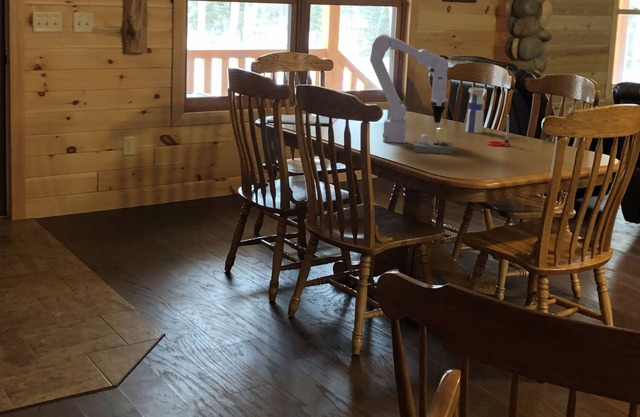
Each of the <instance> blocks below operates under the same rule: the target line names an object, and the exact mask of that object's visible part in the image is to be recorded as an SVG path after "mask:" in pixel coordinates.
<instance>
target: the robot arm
mask: <svg viewBox="0 0 640 417" xmlns="http://www.w3.org/2000/svg"><path fill="white" fill-rule="evenodd" d="M388 50H391V51H393V50H399V51H401V52H403V53H405V54H408V55H410V56H412V57H413V58H415V59H416V62H417V63H419V64H421V65H423V66H425V67H428V68H429V69H433V76H432V87H431V97H430V101H431V102H430V104H431V108H432V111H433V112H432V113H433V120H434V121H433V122H434V123H435V124H436V123H437V124H438V123H439V124H440V123H441V121H442V120H441V119H442V118H443V113H444V111H445V109H446V106H445V102H449V98H446V97H447V85H448V70H449V61H448V59H446V58H444V57H443V56H440V55H439V54H435V53H433V52H431V51H430V49H429V48H422V49H417V48H415V47H414V46H412V45H410V44H408V43H406V42H404V41H402V40H401V39H398V38H396V37H394V36H390V35H388V34H381V35H379V36H377V37H376V38H375V39H374V42H373V43H372V46H371V52H370V53H371V54H370V58H369V61H370V64H371V67H372V68H373V71H374V73H375V75H376V77H377V80H378V82H379V84H380V87H381V89H382V92H383V93H384V96H385V98H386V100H387V105H388V107H389V110H390V116H391V117H390V118H389V120H387V119H384V120H383V121H384V122H383V132H382V138H383V139H382V142H383V143H401V144H406V143H407V138H406V133H407V121H408V120H407V118H406V116H405V115H406V114H407V110H408V109H407V106H406V105H405V103H403V102H402V100H401V98H400V97H399V95H398V93H397V90H396V88H395V86H394V83H393V81H392V79H391V76H390V74H389V72H388V70H387V67H386V64H385V63H384V61H383V59H384V57H385V55H386V52H387V51H388Z"/></svg>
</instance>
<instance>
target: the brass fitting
mask: <svg viewBox="0 0 640 417" xmlns="http://www.w3.org/2000/svg"><path fill="white" fill-rule="evenodd" d="M435 130H436V131H435V141H434V142H435V146H446V145H447V142H448V127H441V126H440V127H436V129H435Z"/></svg>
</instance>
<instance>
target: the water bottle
mask: <svg viewBox="0 0 640 417" xmlns="http://www.w3.org/2000/svg"><path fill="white" fill-rule="evenodd" d="M481 81H482V85H487V81H488V79H486V76H484V77H483V79H481ZM468 93H470V98H469V101H468V104H469V106H468V109H467V116H466V123H465V124H466V125H465V132H466V133H470V134H471V133H473V134H482V133H483V132H484V130H483V129H484V115H485V114H484V113H485V112H484V111H485V109H486V103H485V101H484V96H485V97H486V96H487V93H488V92H487V89H486V88H482V87H469V89H468Z"/></svg>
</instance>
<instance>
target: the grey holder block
mask: <svg viewBox="0 0 640 417" xmlns="http://www.w3.org/2000/svg"><path fill="white" fill-rule="evenodd" d="M435 142H436V141H430V140H429V134H421V140H414V141H413V153H424V154H425V153H427V154H428V153H429V154H444V155H447V154H450V155H453V153H454V146H453V143H452V142H448V141H447V145H446V146H435Z"/></svg>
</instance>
